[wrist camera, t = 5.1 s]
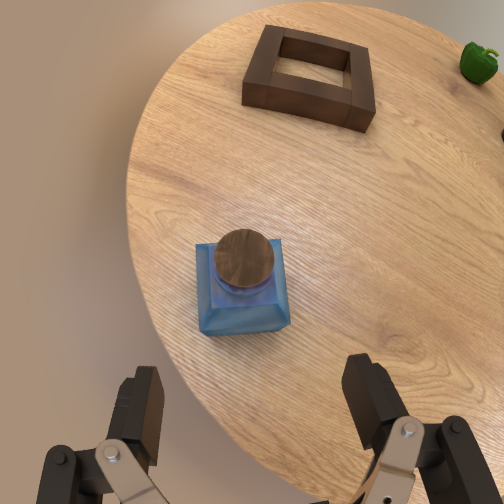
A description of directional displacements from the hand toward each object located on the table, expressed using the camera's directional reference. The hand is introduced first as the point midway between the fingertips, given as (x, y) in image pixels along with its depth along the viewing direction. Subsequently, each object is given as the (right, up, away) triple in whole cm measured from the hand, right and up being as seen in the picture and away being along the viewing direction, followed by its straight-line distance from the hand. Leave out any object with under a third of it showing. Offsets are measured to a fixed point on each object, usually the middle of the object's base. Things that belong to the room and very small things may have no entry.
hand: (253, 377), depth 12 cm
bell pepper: (+47, +43, +33) cm, 71 cm away
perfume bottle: (-1, +1, +15) cm, 16 cm away
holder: (+8, +29, +26) cm, 39 cm away
